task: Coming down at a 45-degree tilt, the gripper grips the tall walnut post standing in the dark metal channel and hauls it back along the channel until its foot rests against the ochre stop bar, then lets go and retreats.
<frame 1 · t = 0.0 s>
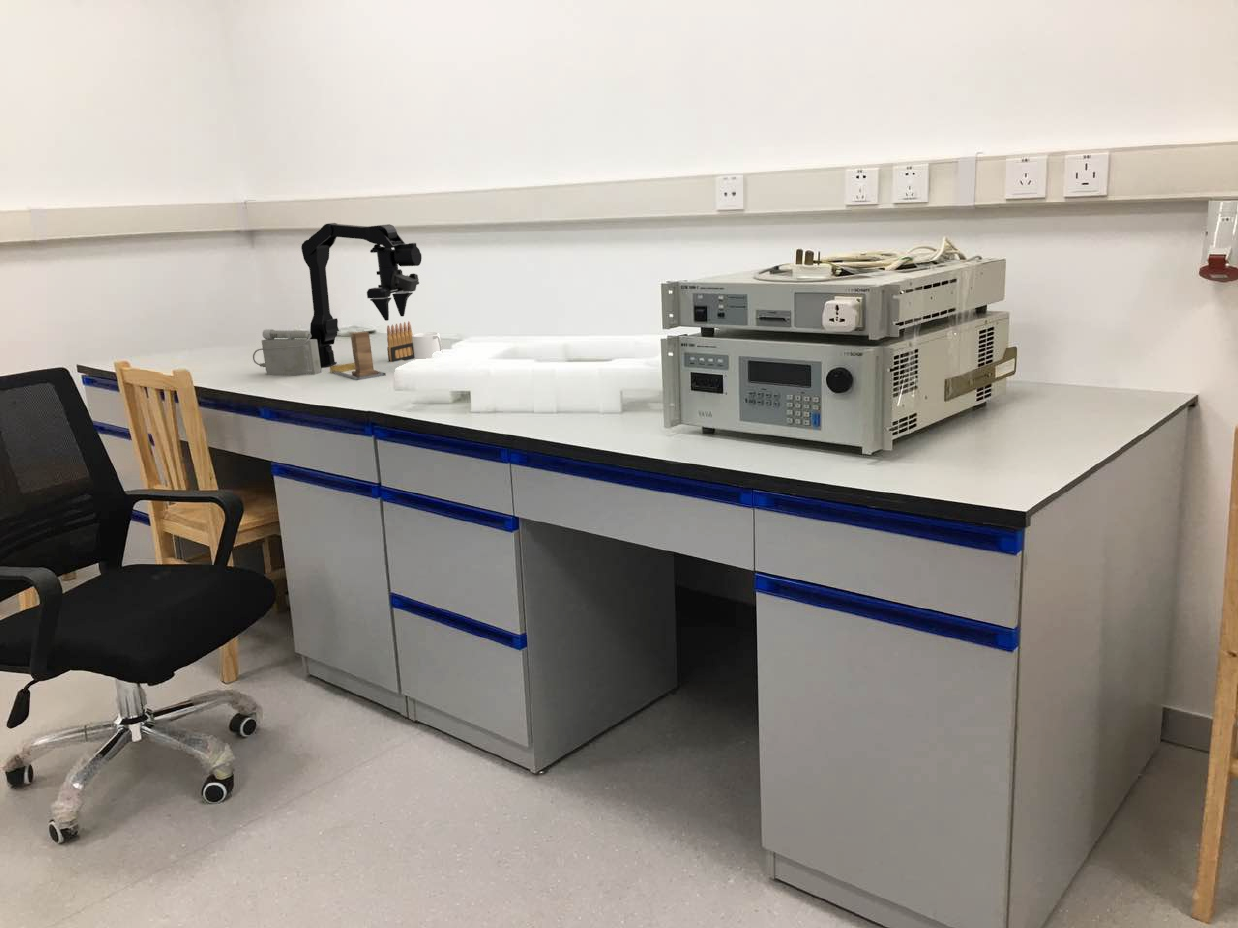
hand: (394, 318, 310), 15 cm above the table, tool pointing down, fingers open, 9 cm apart
track: (357, 375, 301), on the table
cup: (433, 368, 306), on the table
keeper: (362, 354, 294), point 7 cm above the table, slide at 0.0 cm
geiger counter: (286, 375, 311), on the table
ammunition clip: (403, 361, 324), on the table
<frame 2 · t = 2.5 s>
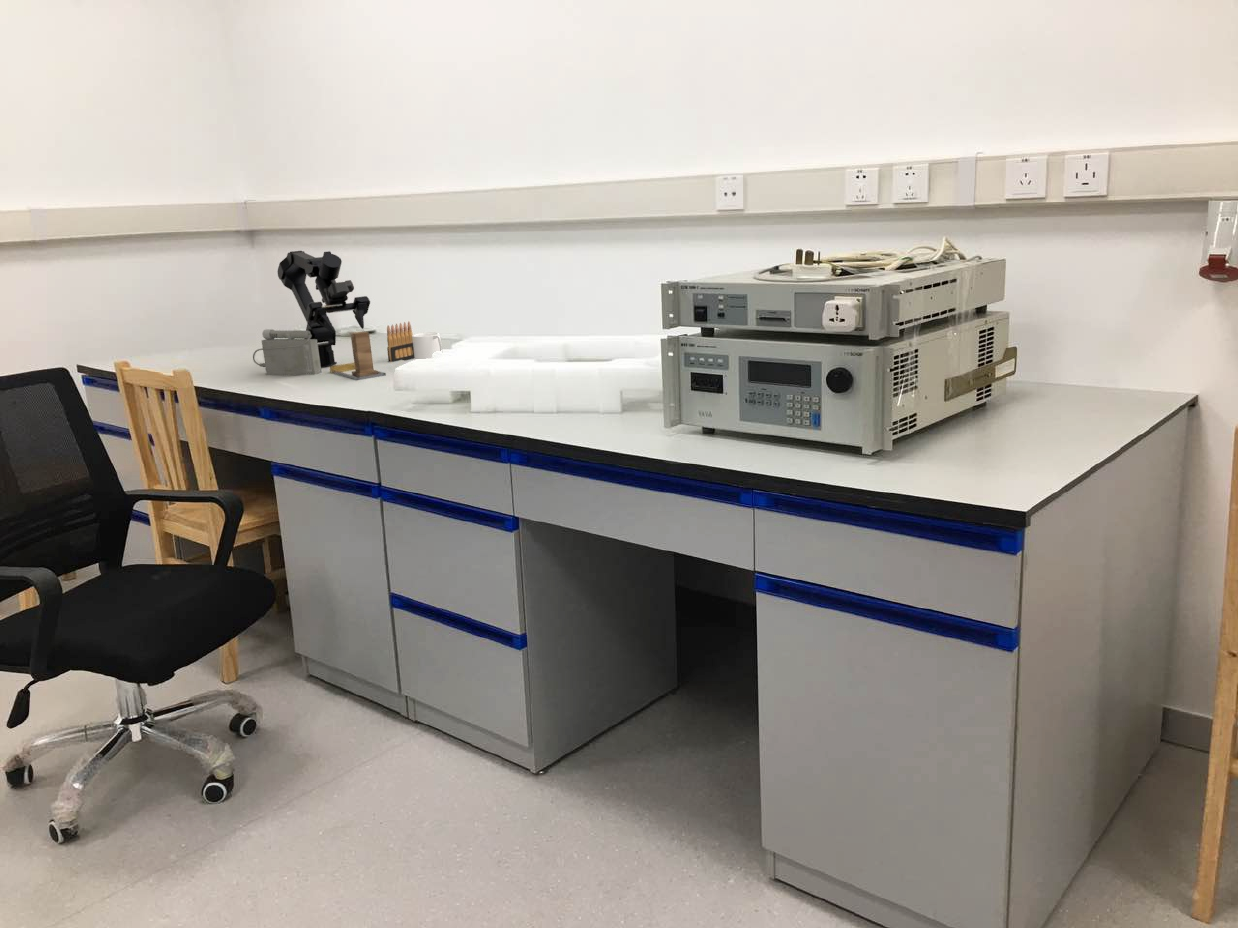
hand: (348, 329, 299), 13 cm above the table, tool tilted 45°, fingers open, 9 cm apart
nothing on the table moved.
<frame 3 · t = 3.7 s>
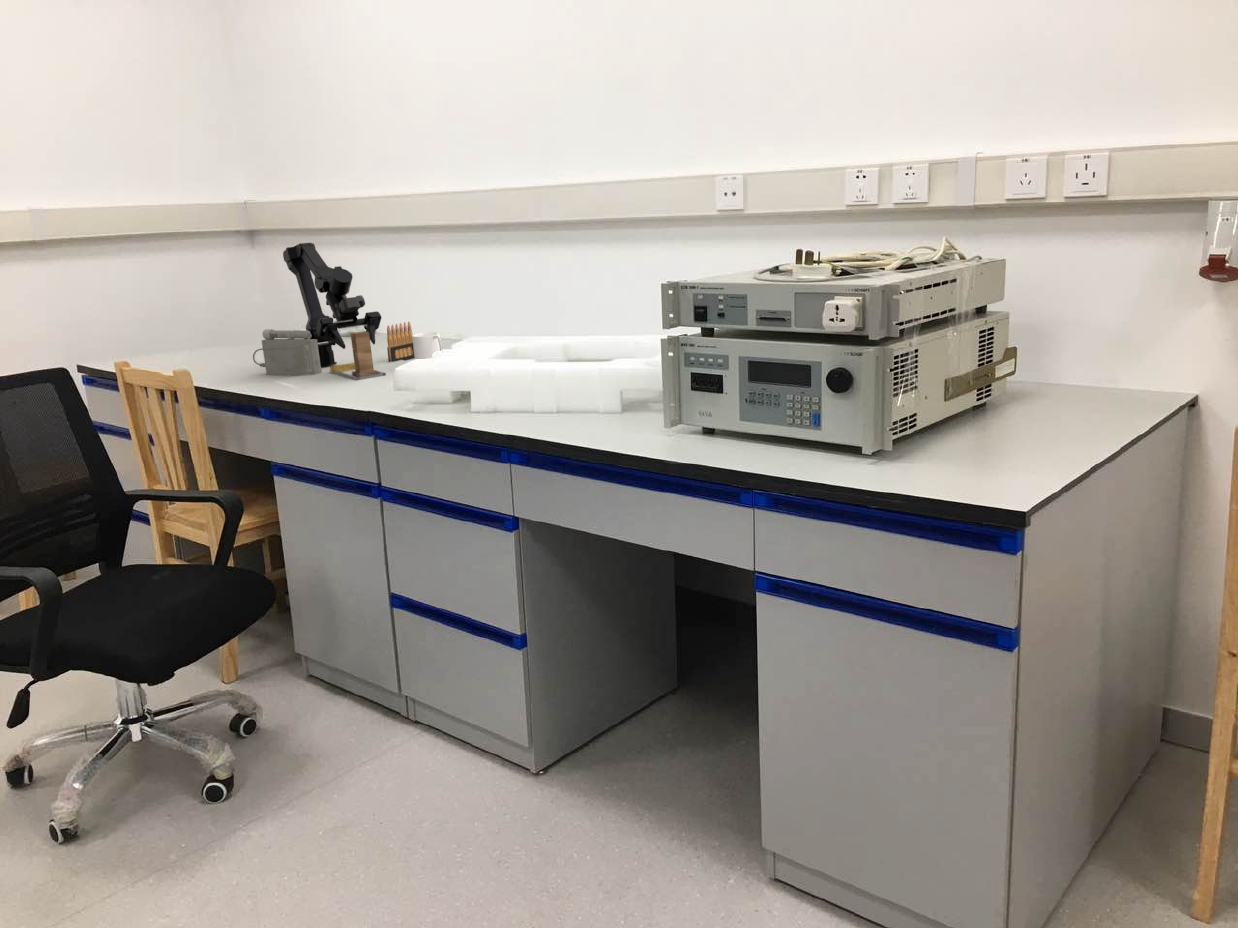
hand: (359, 345, 295), 9 cm above the table, tool tilted 45°, fingers open, 9 cm apart
nothing on the table moved.
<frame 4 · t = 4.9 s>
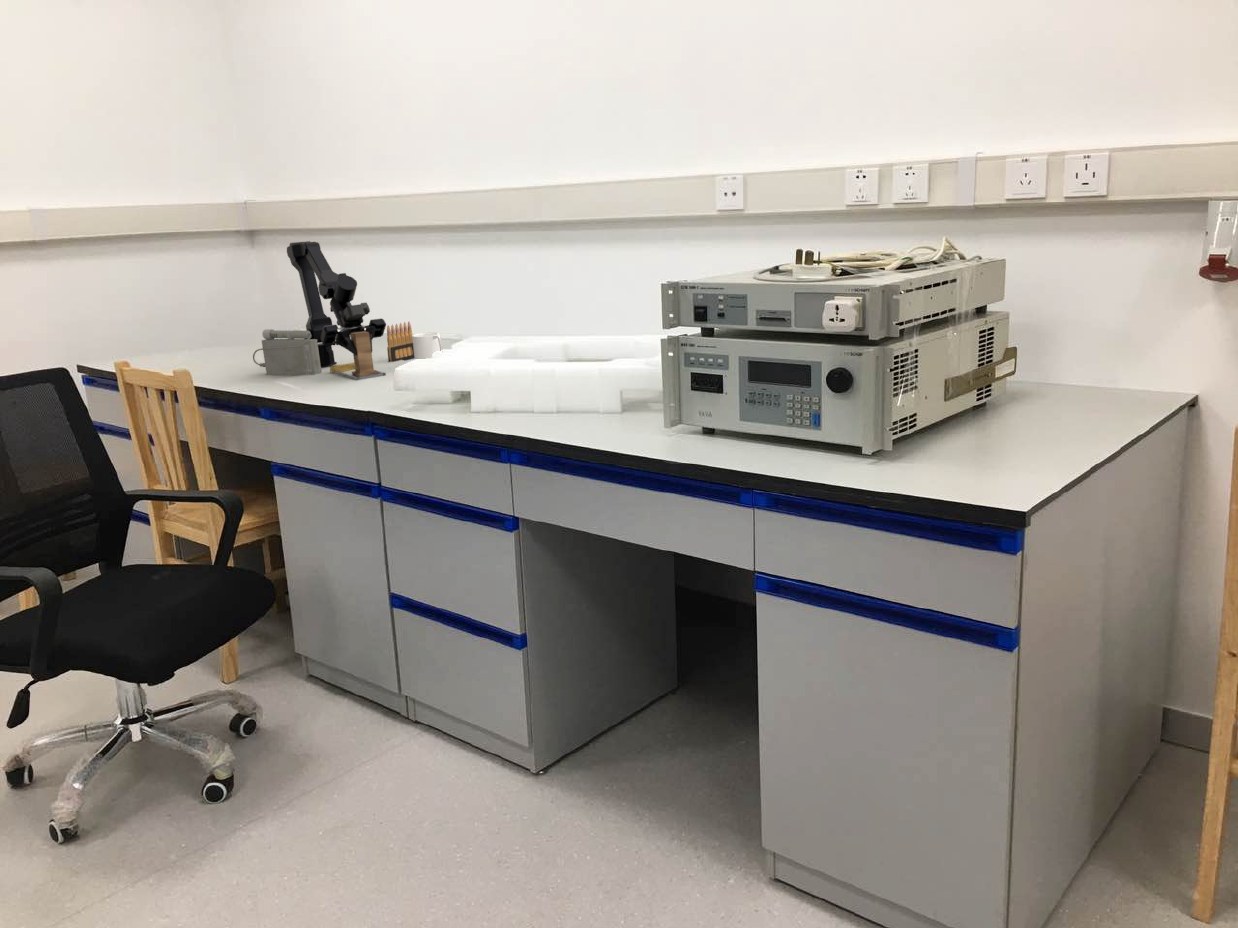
hand: (364, 353, 293), 7 cm above the table, tool tilted 45°, fingers closed on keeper, 4 cm apart
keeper: (362, 354, 294), point 7 cm above the table, slide at 0.0 cm, touching gripper
everything else where it was.
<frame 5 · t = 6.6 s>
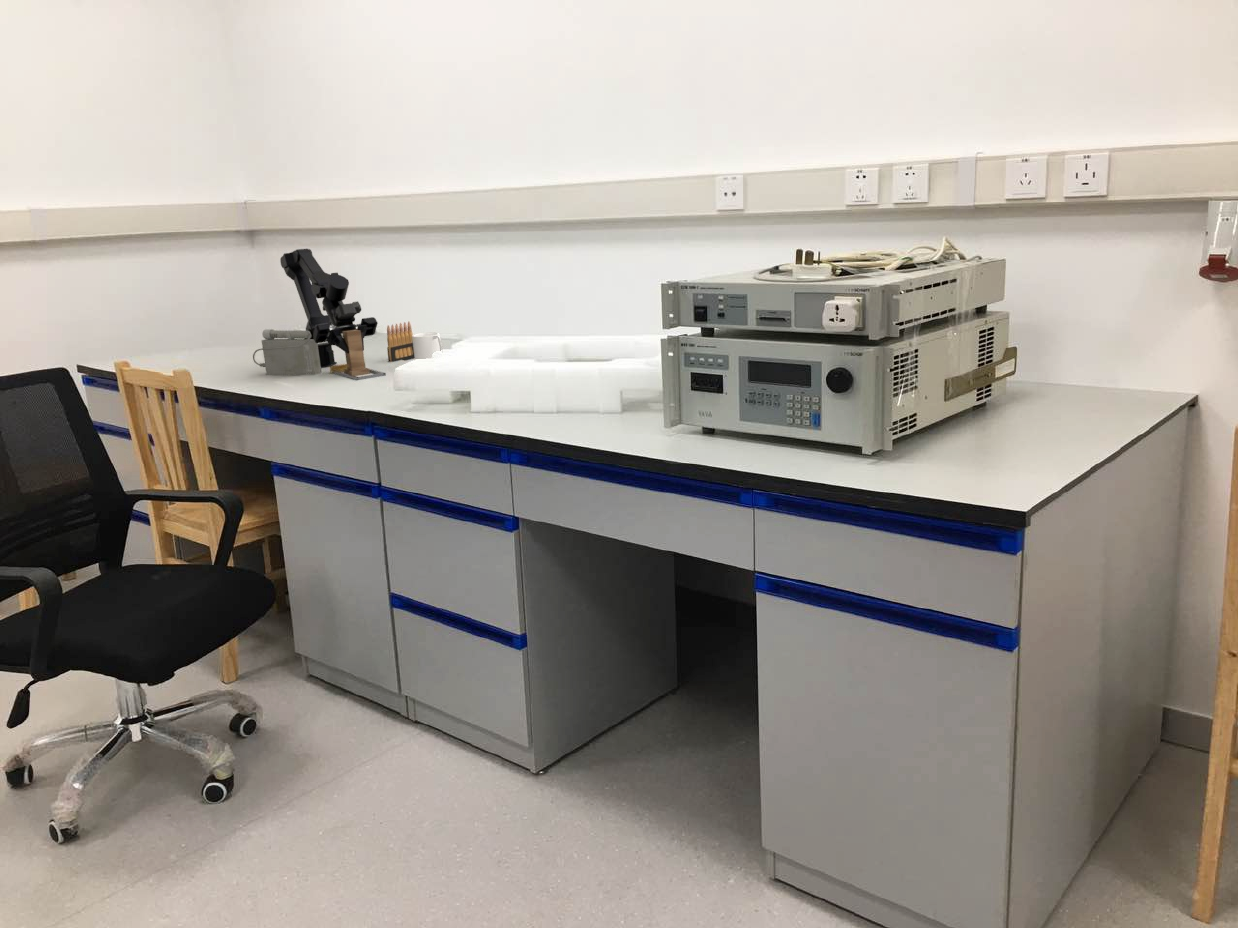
hand: (355, 351, 298), 7 cm above the table, tool tilted 45°, fingers closed on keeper, 4 cm apart
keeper: (354, 352, 299), point 7 cm above the table, slide at 6.3 cm, touching gripper
everything else where it was.
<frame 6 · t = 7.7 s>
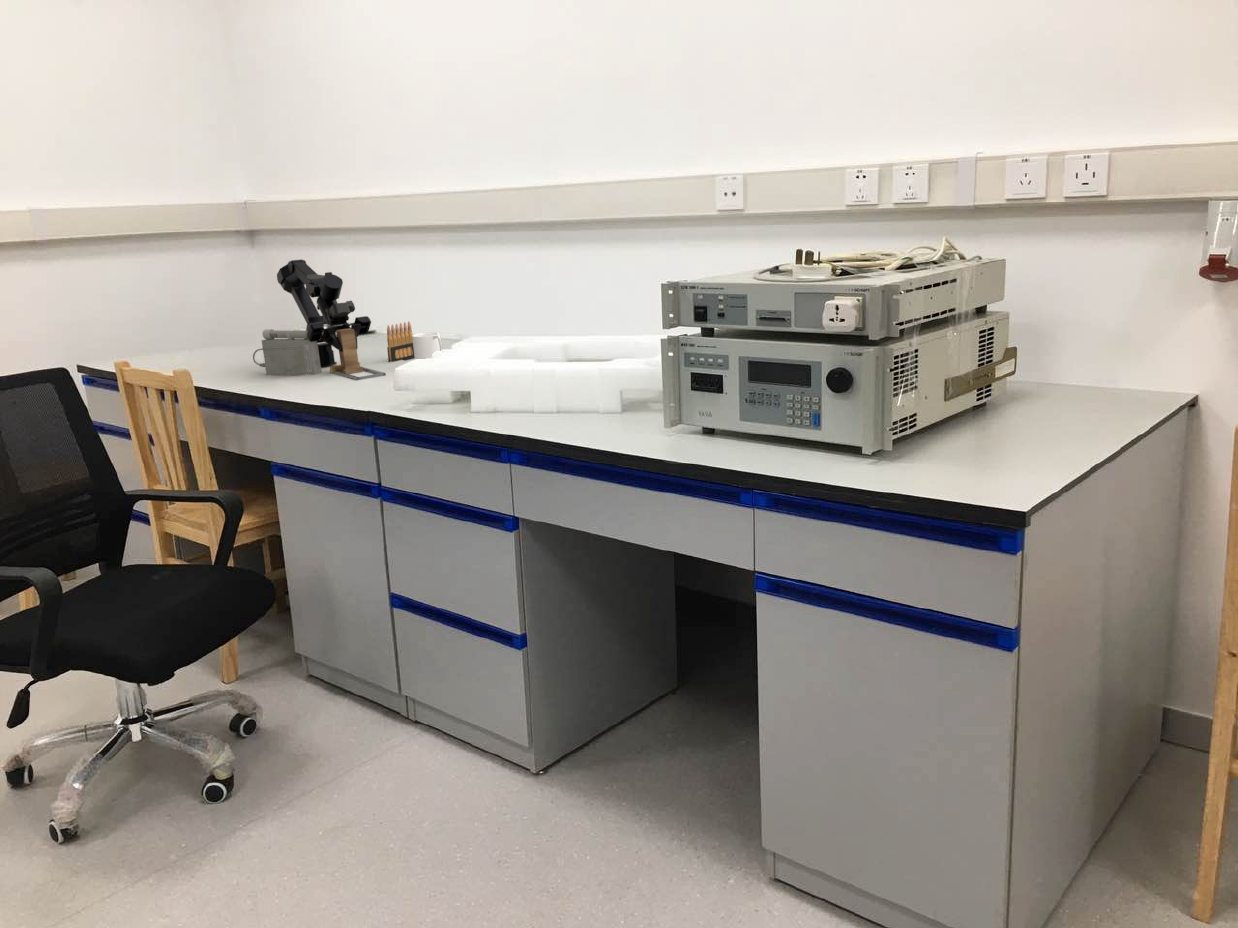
hand: (349, 349, 302), 7 cm above the table, tool tilted 45°, fingers closed on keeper, 4 cm apart
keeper: (347, 351, 303), point 7 cm above the table, slide at 11.2 cm, touching gripper
everything else where it was.
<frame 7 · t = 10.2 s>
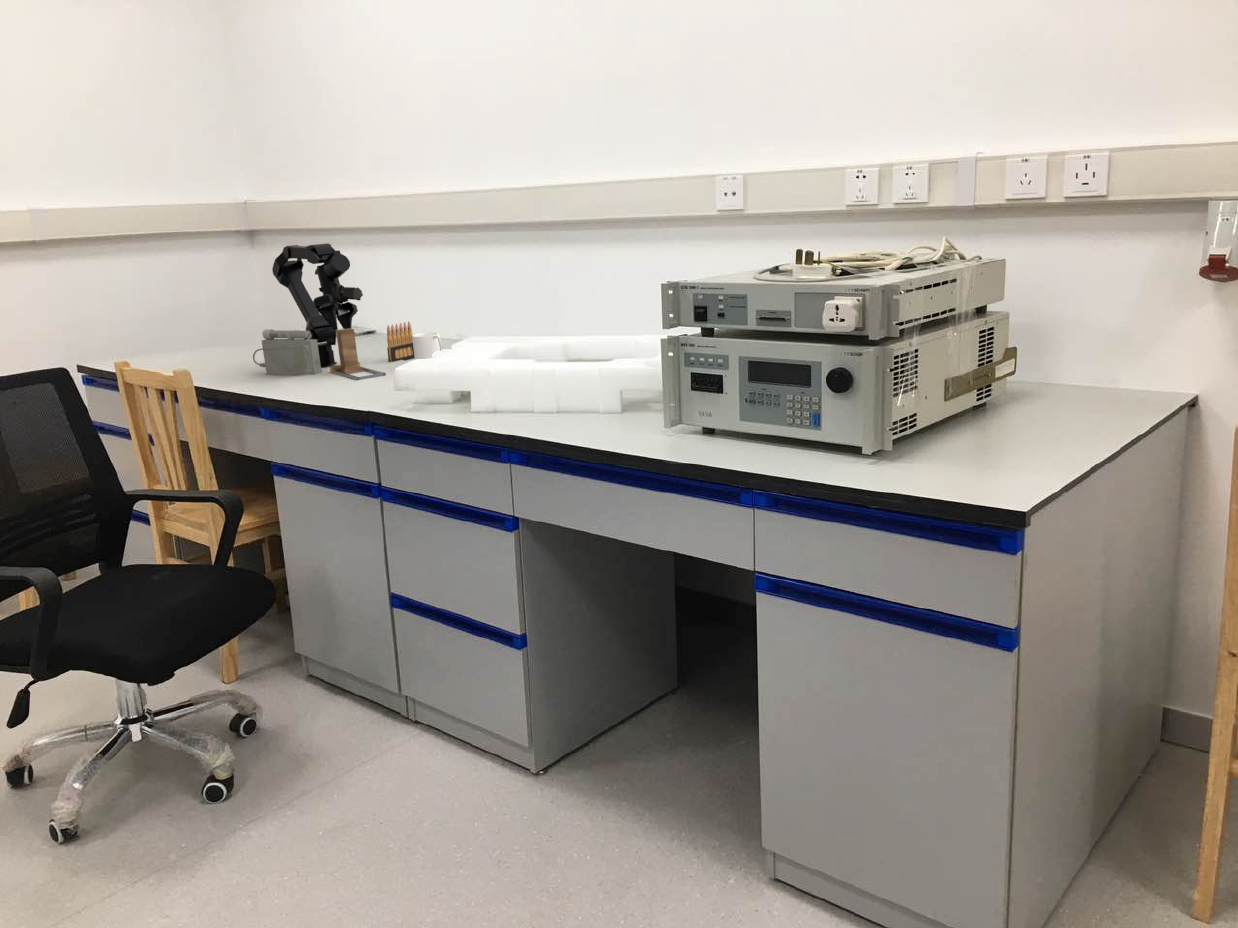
hand: (342, 332, 306), 12 cm above the table, tool tilted 20°, fingers open, 9 cm apart
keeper: (347, 350, 303), point 7 cm above the table, slide at 11.3 cm
everything else where it was.
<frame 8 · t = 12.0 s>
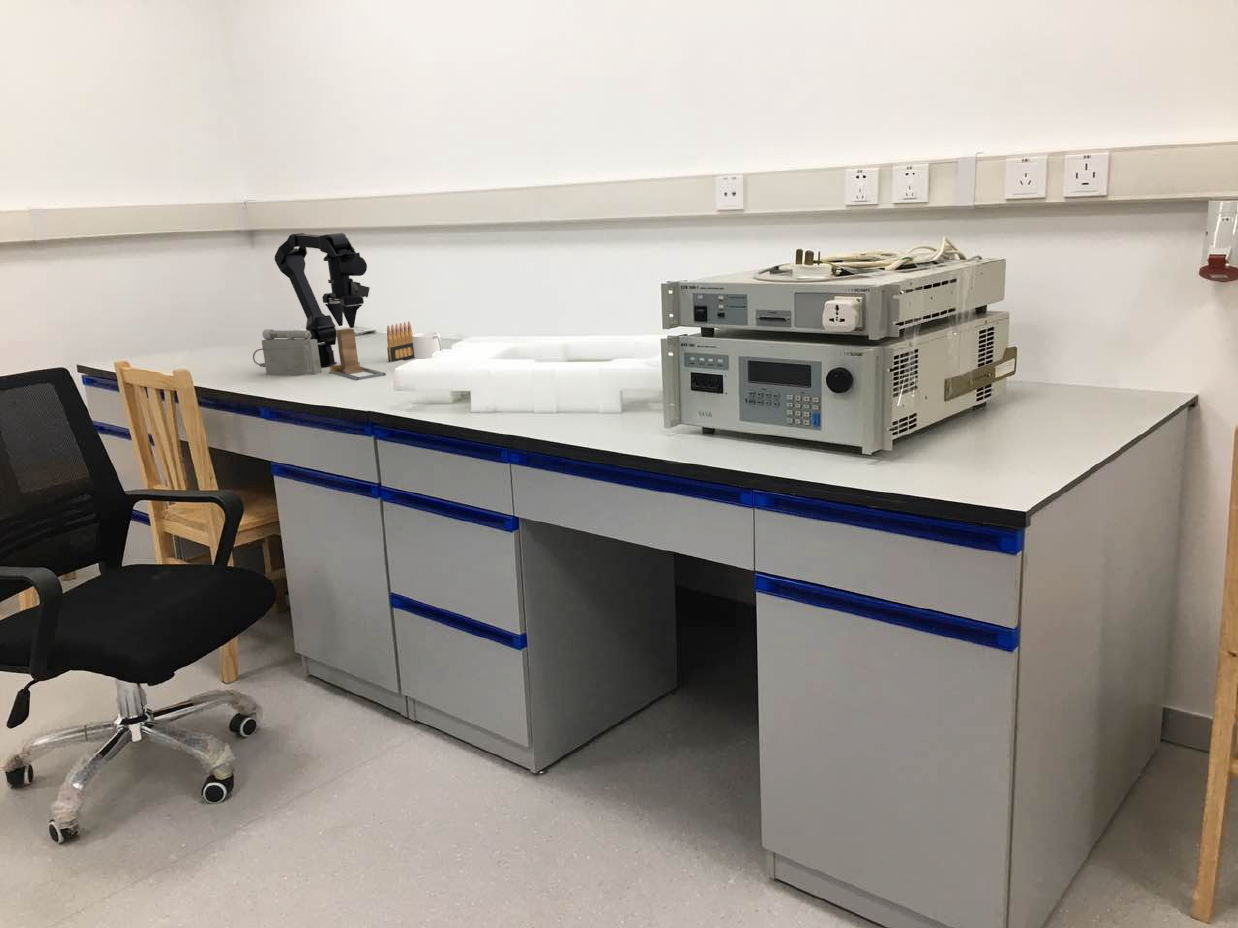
hand: (346, 326, 311), 13 cm above the table, tool pointing down, fingers open, 9 cm apart
nothing on the table moved.
at the end: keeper slide at 11.3 cm; the gripper is holding nothing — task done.
